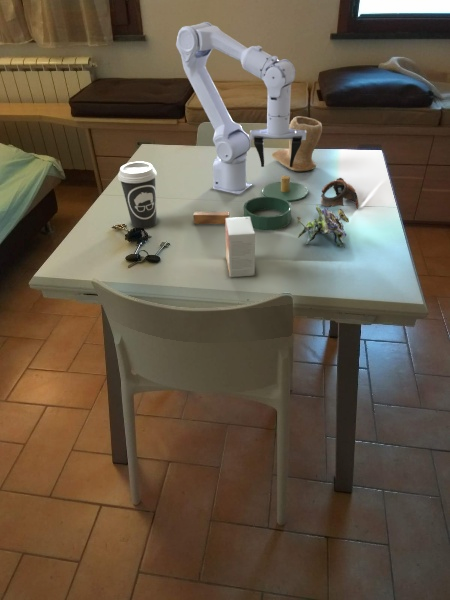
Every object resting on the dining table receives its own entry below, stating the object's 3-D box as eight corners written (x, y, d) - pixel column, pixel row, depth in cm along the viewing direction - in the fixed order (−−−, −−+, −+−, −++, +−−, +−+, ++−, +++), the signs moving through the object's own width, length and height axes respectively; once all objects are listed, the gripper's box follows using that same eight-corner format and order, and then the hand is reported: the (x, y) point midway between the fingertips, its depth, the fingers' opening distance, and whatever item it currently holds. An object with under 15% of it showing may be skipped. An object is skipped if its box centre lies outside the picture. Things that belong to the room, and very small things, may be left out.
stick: (194, 224, 124) (193, 214, 122) (195, 221, 126) (194, 211, 124) (228, 225, 123) (228, 215, 122) (229, 221, 125) (229, 211, 123)
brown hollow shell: (363, 215, 126) (353, 193, 121) (328, 227, 130) (317, 206, 125) (357, 186, 134) (348, 164, 128) (325, 198, 138) (314, 178, 132)
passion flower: (335, 264, 117) (358, 242, 106) (293, 261, 115) (311, 238, 103) (331, 222, 120) (352, 197, 109) (290, 219, 118) (307, 193, 107)
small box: (226, 258, 110) (224, 217, 104) (250, 257, 110) (250, 215, 104) (229, 278, 104) (227, 234, 97) (254, 276, 104) (255, 233, 98)
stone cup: (325, 170, 151) (330, 121, 142) (292, 176, 148) (295, 127, 139) (301, 155, 163) (304, 109, 154) (270, 161, 159) (271, 114, 150)
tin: (235, 225, 123) (234, 210, 121) (257, 206, 132) (257, 193, 129) (277, 235, 118) (278, 221, 116) (298, 216, 126) (299, 202, 124)
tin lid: (254, 198, 136) (254, 181, 133) (274, 182, 145) (275, 165, 142) (296, 207, 130) (297, 189, 127) (314, 190, 139) (316, 173, 136)
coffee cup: (168, 216, 128) (162, 162, 119) (152, 233, 121) (145, 176, 112) (136, 212, 131) (128, 158, 122) (119, 228, 124) (109, 172, 115)
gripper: (306, 109, 125) (303, 160, 133) (251, 109, 126) (251, 160, 134) (307, 117, 119) (304, 170, 127) (249, 117, 121) (249, 169, 129)
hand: (276, 165), depth 130 cm, fingers open, 7 cm apart
